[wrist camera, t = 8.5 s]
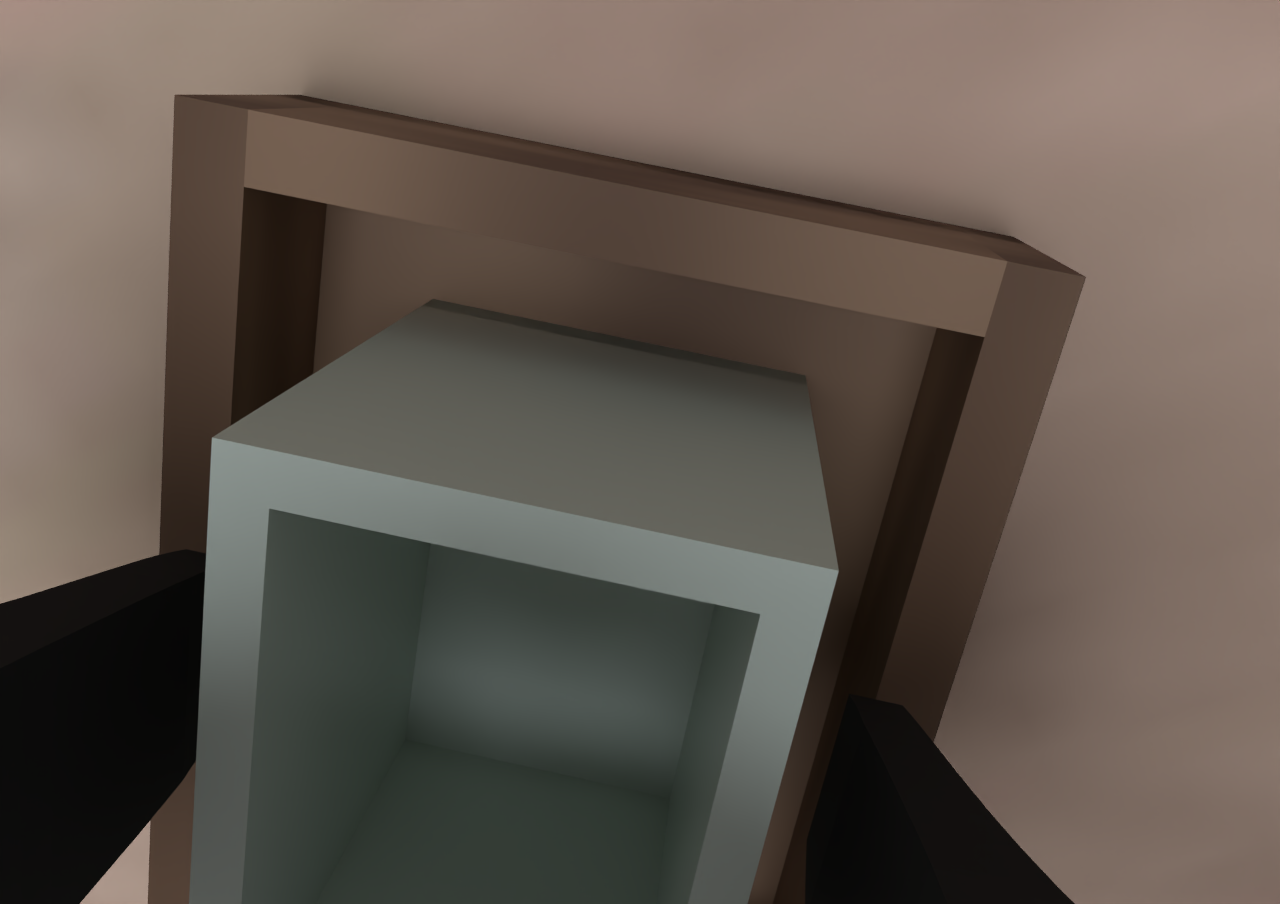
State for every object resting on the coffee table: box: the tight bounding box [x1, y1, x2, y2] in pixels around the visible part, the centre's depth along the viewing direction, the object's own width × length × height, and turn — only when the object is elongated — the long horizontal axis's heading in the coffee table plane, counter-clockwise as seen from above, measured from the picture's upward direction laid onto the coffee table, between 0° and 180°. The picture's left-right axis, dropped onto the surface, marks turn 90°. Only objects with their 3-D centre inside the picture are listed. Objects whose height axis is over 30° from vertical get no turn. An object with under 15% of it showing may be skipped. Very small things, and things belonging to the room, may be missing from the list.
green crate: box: [189, 299, 839, 904], centre depth 12 cm, size 5×7×6 cm
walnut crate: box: [148, 95, 1086, 904], centre depth 14 cm, size 10×12×3 cm
